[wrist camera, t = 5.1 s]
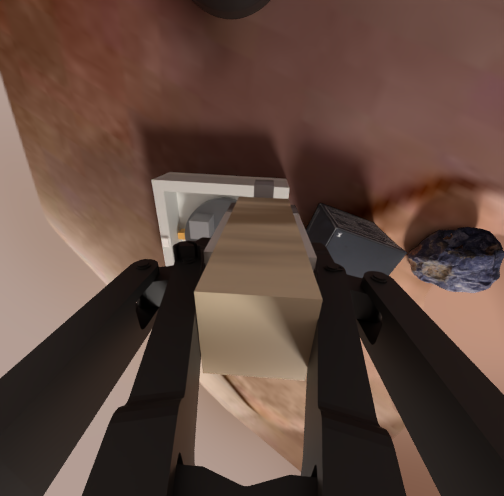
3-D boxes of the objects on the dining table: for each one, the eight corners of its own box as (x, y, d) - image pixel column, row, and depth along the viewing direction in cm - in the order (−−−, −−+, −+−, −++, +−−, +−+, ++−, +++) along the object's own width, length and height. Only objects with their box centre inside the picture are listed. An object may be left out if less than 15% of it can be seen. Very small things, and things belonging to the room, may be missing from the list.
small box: (302, 234, 40) (312, 266, 31) (319, 201, 37) (335, 225, 28) (355, 253, 41) (380, 289, 32) (375, 222, 38) (410, 251, 29)
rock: (500, 217, 33) (529, 276, 28) (460, 253, 42) (477, 304, 37) (417, 215, 36) (430, 268, 31) (396, 249, 45) (403, 296, 40)
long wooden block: (231, 178, 20) (157, 262, 7) (298, 181, 20) (364, 274, 6) (231, 239, 23) (181, 386, 9) (290, 242, 22) (326, 397, 9)
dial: (177, 194, 35) (163, 204, 31) (266, 199, 35) (265, 211, 30) (185, 263, 42) (174, 280, 37) (260, 268, 41) (259, 287, 36)
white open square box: (170, 172, 36) (149, 180, 30) (286, 178, 35) (289, 188, 29) (182, 269, 45) (168, 290, 39) (275, 276, 44) (276, 299, 38)
